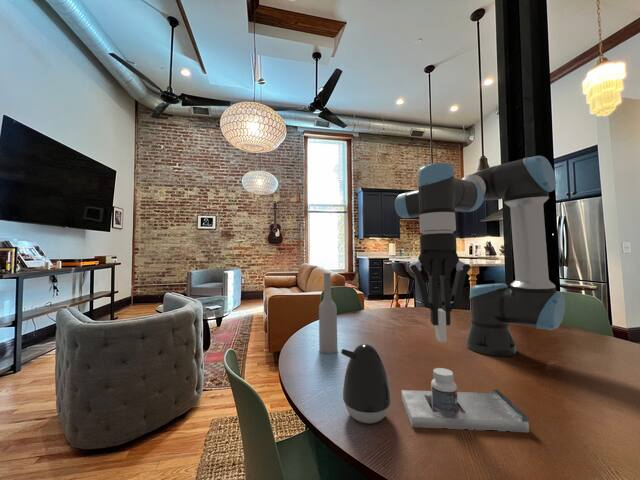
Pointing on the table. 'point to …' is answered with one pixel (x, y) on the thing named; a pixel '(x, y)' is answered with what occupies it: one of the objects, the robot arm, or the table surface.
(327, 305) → the bottle
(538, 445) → the table surface
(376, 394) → the pump dispenser
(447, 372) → the pill bottle
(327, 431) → the table surface
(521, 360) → the table surface
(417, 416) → the jig
